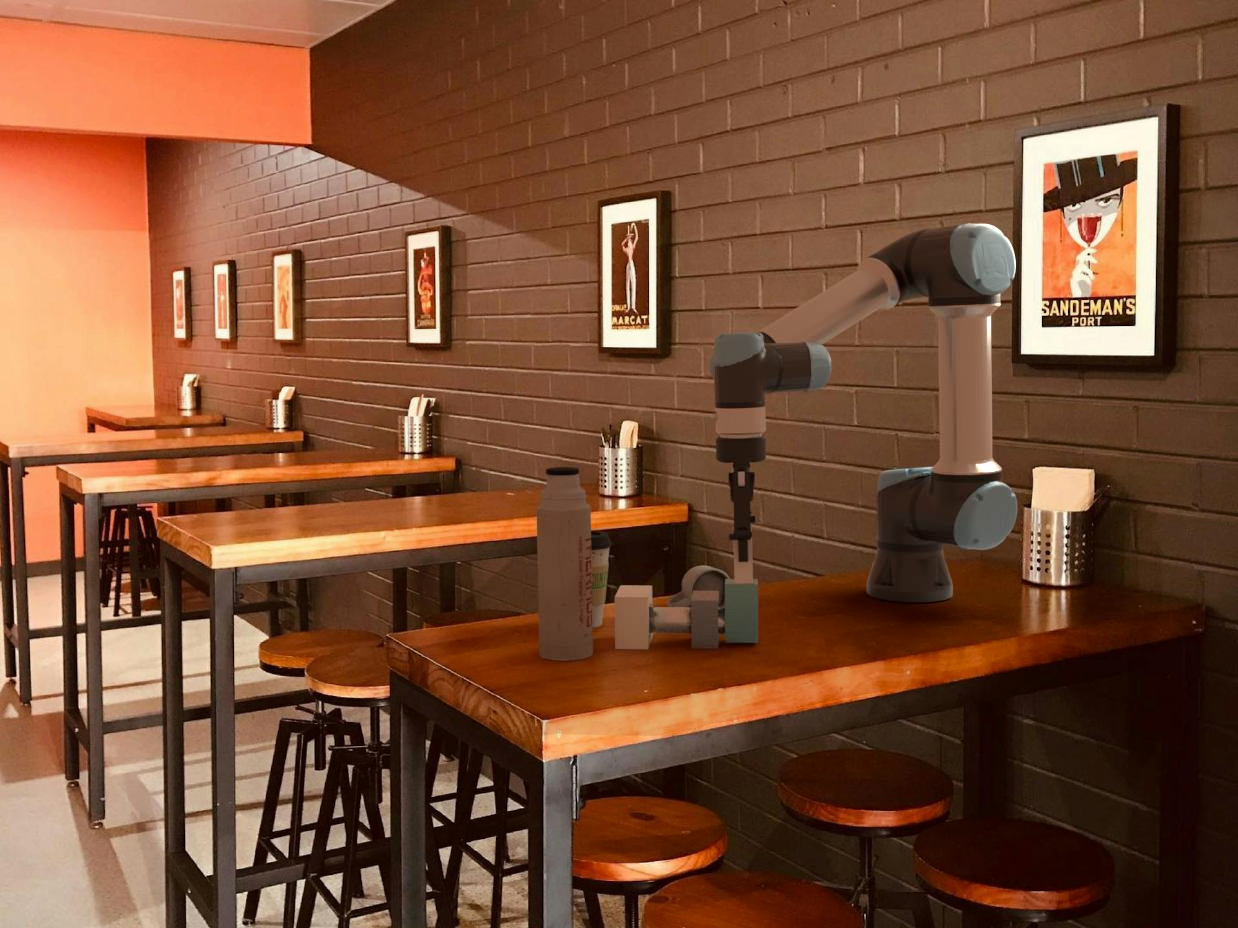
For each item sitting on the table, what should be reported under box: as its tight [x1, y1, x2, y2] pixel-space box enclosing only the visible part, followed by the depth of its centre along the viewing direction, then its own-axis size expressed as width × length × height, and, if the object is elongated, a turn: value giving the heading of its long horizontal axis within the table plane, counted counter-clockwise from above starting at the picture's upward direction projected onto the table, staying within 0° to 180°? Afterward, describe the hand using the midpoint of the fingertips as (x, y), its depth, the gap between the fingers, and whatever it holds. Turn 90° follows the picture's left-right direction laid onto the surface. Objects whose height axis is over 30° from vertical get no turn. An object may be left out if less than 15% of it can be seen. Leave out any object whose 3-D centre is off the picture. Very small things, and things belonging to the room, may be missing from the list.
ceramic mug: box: [666, 565, 731, 608], centre depth 219 cm, size 11×8×8 cm
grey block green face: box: [649, 578, 759, 644], centre depth 195 cm, size 20×4×9 cm, turn 84°
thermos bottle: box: [536, 466, 594, 662], centre depth 188 cm, size 8×8×28 cm
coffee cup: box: [591, 529, 613, 629], centre depth 209 cm, size 10×10×15 cm
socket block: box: [614, 584, 654, 650], centre depth 196 cm, size 5×9×8 cm, turn 174°
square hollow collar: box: [690, 591, 720, 650], centre depth 195 cm, size 4×7×7 cm, turn 174°
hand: (743, 573), depth 194 cm, fingers open, 13 cm apart
